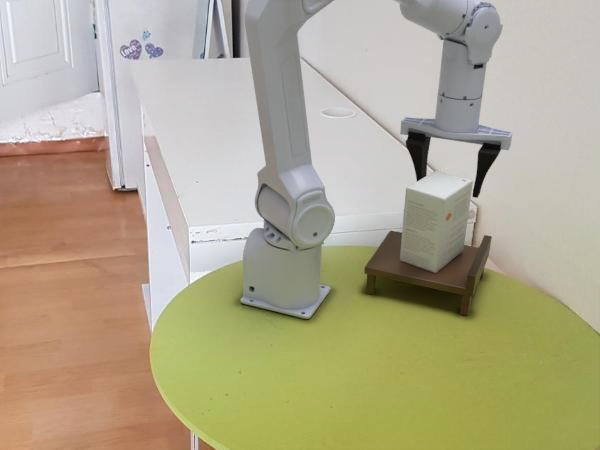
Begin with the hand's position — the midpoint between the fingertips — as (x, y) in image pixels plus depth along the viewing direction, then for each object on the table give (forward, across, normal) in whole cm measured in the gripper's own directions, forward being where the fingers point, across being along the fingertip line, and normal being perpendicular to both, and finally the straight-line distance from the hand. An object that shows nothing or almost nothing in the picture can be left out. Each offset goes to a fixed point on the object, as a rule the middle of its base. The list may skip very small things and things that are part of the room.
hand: (448, 190), depth 104 cm
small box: (+7, 0, +8) cm, 10 cm away
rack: (+10, 0, +9) cm, 13 cm away
